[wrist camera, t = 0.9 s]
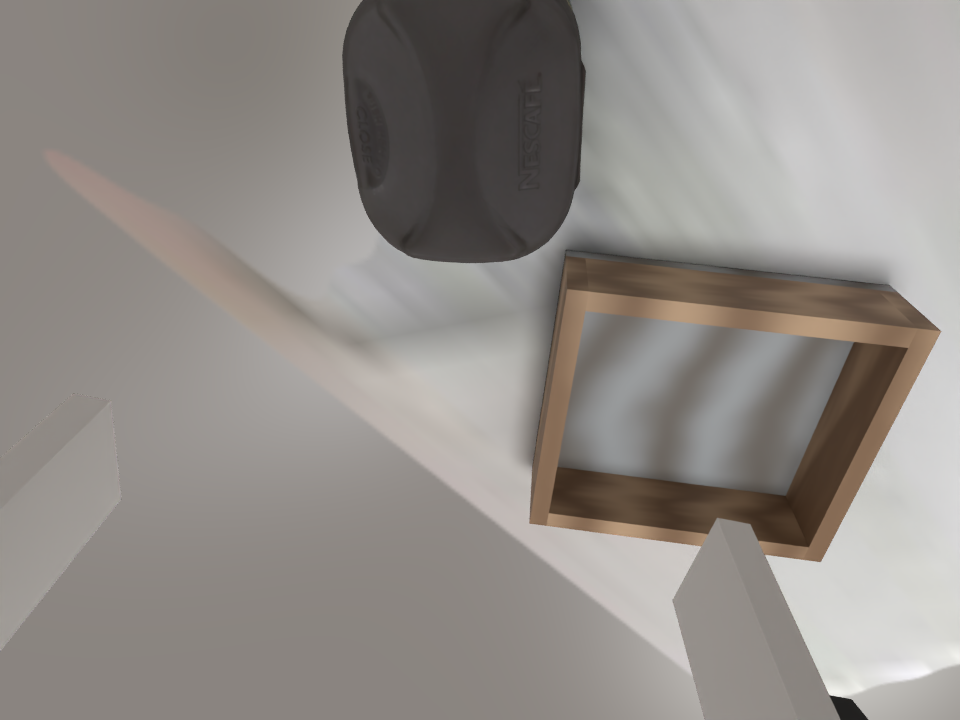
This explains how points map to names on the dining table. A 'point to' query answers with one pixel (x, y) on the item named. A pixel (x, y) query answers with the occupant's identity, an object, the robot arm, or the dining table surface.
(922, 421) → the dining table surface
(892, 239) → the dining table surface
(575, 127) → the coffee jar
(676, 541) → the walnut crate
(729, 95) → the dining table surface
